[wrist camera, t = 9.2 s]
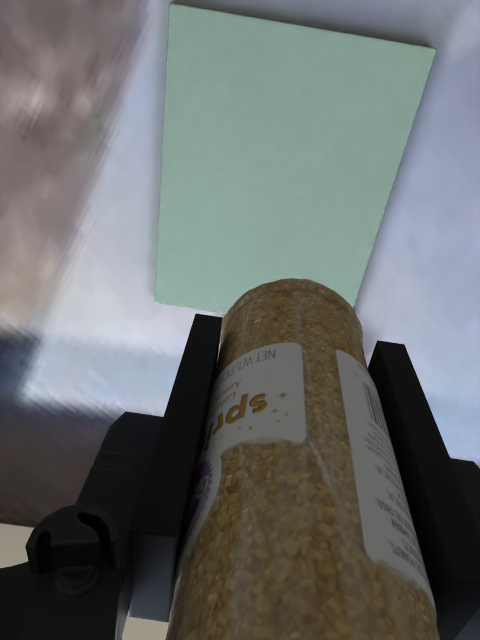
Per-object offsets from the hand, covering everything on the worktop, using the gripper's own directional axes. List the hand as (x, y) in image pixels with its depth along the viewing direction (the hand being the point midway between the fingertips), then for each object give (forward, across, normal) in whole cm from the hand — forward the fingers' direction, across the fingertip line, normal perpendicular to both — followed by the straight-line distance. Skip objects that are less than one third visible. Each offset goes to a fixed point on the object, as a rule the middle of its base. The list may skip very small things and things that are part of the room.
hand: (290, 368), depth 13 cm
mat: (+18, -1, 0) cm, 18 cm away
